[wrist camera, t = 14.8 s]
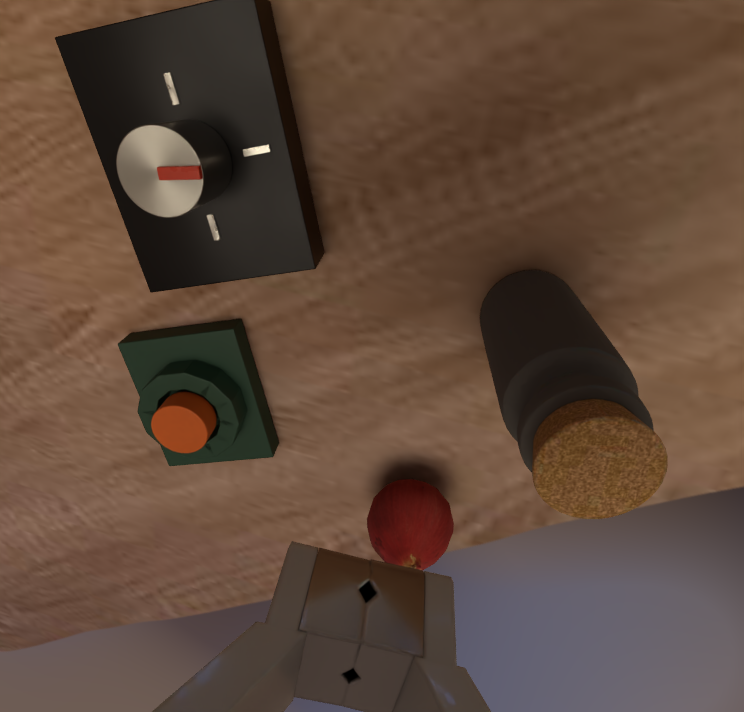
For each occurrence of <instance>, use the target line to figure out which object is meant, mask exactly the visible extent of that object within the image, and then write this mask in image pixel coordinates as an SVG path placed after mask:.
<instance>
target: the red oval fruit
mask: <svg viewBox="0 0 744 712" xmlns="http://www.w3.org/2000/svg"><path fill="white" fill-rule="evenodd" d="M453 525H454V523H453V519H452V514H451V510H450V505H449V503H448V501H447V500H446V499H445V498H444V497H443V496H442V494H441V493H440V492H439V491H438V489H437V488H435V487H433V486H432V485H430V484H428V483H426V482H422V481H418V480H414V479H401V480H397V481H395V482H392V483H390V484H388V485H386V486H385V487H384V488H383V489H382V490H381V491H380V492H379V493H378V494H377V495H376V496H375V497H374V499H373V502H372V505H371V508H370V511H369V514H368V517H367V528H368V532H369V537H370V541H371V544H372V547H373V548H374V549H375V551H376V552H377V553H378V555H379V556H380V557H381V558H382V559H383V560H384V561H385V562H386V563H391V564H395V565H400V566H405V567H410V568H415V569H420V570H424V569H426V568H427V567H429V566H431V565H433V564H434V563H435V562H436V561H437V560H438V559H439V558H440V557H441V556H442V555H443V554H444V552H445V551H446V549H447V547H448V544H449V541H450V538H451V536H452V533H453Z"/></svg>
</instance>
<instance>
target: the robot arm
mask: <svg viewBox="0 0 744 712" xmlns="http://www.w3.org/2000/svg"><path fill="white" fill-rule="evenodd" d="M453 587H454V586H453V580H452V578H451V577H449V576H444V575H439V574H434V573H430V572H426V571H424V572H423V570H420V569H415V568H410V567H405V566H400V565H395V564H391V563H386V562H381V561H376V560H367V559H363V558H359V557H355V556H351V555H347V554H343V553H339V552H335V551H331V550H327V549H323V548H319V550H318V547H314V546H310V545H305V544H301V543H297V542H293V541H292V542H291V544H290V546H289V548H288V551H287V554H286V557H285V560H284V563H283V567H282V570H281V573H280V576H279V580H278V583H277V586H276V589H275V592H274V596H273V599H272V602H271V605H270V609H269V612H268V615H267V618H266V621H265V623H262V622H255V623H254V624H253V625H252V626H251V627H250V628H249V629H247V630H246V631H245V632H244V633H243V634H242V635H240V636H239V637H238V638H237V639H236V640H235V641H233V642H232V643H231V644H230V645H229V646H228V647H226V648H225V649H224V650H223V651H222V652H221V653H219V654H218V655H217V656H216V657H215V658H214V659H213V660H211V661H210V662H209V663H208V664H207V665H206V666H204V667H203V668H202V669H201V670H200V671H199V672H197V673H196V674H195V675H194V676H193V677H192V678H191V679H189V680H188V681H187V682H186V683H185V684H184V685H183V686H181V687H180V688H179V689H178V690H177V691H175V692H174V693H173V694H172V695H171V696H170V697H168V698H167V699H166V700H165V701H164V702H163V703H161V704H160V705H159V706H158V707H157V708H156V709H155V710H153V712H284V711H285V709H286V708H287V707H288V706H289V705H290V703H291V702H292V701H293V698H294V697H297V698H303V699H308V700H313V701H318V702H323V703H329V704H334V705H339V706H344V707H348V708H351V709H355V710H359V711H364V712H491V711H490V709H489V707H488V706H487V704H486V702H485V701H484V699H483V697H482V696H481V694H480V692H479V691H478V689H477V687H476V686H475V684H474V682H473V681H472V679H471V677H470V676H469V674H468V672H467V670H466V669H465V668H463V667H460V666H457V663H456V638H455V612H454V588H453Z"/></svg>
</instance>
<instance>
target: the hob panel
mask: <svg viewBox="0 0 744 712" xmlns="http://www.w3.org/2000/svg"><path fill="white" fill-rule="evenodd" d="M55 40H56V42H57V45H58V48H59V50H60V53H61V56H62V58H63V61H64V63H65V66H66V69H67V71H68V74H69V77H70V79H71V82H72V85H73V87H74V90H75V93H76V95H77V98H78V101H79V103H80V106H81V109H82V111H83V114H84V117H85V119H86V122H87V125H88V127H89V130H90V133H91V135H92V138H93V141H94V143H95V146H96V149H97V151H98V154H99V157H100V159H101V162H102V165H103V167H104V170H105V172H106V175H107V178H108V180H109V183H110V186H111V188H112V191H113V194H114V196H115V199H116V202H117V204H118V207H119V210H120V212H121V215H122V218H123V220H124V223H125V226H126V228H127V231H128V234H129V236H130V239H131V242H132V244H133V247H134V250H135V252H136V255H137V258H138V260H139V263H140V266H141V268H142V271H143V274H144V276H145V279H146V282H147V284H148V287H149V289H150V292H158V291H165V290H172V289H179V288H186V287H192V286H199V285H206V284H213V283H220V282H227V281H234V280H241V279H248V278H255V277H262V276H269V275H276V274H283V273H290V272H297V271H303V270H310V269H315V268H316V267H317V265H318V264H319V262H320V260H321V259H322V257H323V255H324V249H323V245H322V240H321V235H320V231H319V226H318V222H317V217H316V212H315V208H314V203H313V198H312V194H311V189H310V184H309V180H308V175H307V171H306V166H305V161H304V157H303V152H302V147H301V143H300V138H299V134H298V129H297V124H296V120H295V115H294V110H293V106H292V101H291V97H290V92H289V87H288V83H287V78H286V73H285V69H284V64H283V60H282V55H281V50H280V46H279V41H278V36H277V32H276V27H275V23H274V18H273V13H272V9H271V4H270V1H268V0H213V1H209V2H204V3H200V4H196V5H191V6H187V7H183V8H178V9H174V10H170V11H166V12H161V13H157V14H153V15H148V16H144V17H140V18H136V19H131V20H127V21H123V22H118V23H114V24H110V25H105V26H101V27H97V28H93V29H88V30H84V31H80V32H75V33H71V34H67V35H63V36H58V37H55ZM186 119H187V120H196V121H199V122H202V123H204V124H206V125H208V126H210V127H211V128H212V129H214V130H215V131H216V132H217V133H218V134H219V135H220V136H221V138H222V139H223V140H224V142H225V144H226V145H227V147H228V150H229V152H230V155H231V160H232V175H231V179H230V182H229V184H228V186H227V188H226V189H225V191H224V192H223V193H222V194H221V195H219V196H218V197H217V198H215V199H213V200H211V201H209V202H207V203H205V204H203V205H202V206H200V207H198V208H196V209H194V210H192V211H190V212H188V213H186V214H184V215H182V216H179V217H174V218H163V217H158V216H155V215H152V214H150V213H148V212H146V211H144V210H143V209H141V208H140V207H139V206H137V205H136V204H135V203H134V202H133V201H132V200H131V199H130V197H129V196H128V195H127V193H126V192H125V190H124V188H123V187H122V185H121V182H120V180H119V177H118V173H117V166H116V158H117V152H118V148H119V145H120V143H121V141H122V140H123V138H124V137H125V136H126V135H127V134H128V133H129V132H130V131H131V130H133V129H134V128H136V127H139V126H142V125H146V124H154V123H162V122H170V121H178V120H186Z"/></svg>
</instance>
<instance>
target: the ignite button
mask: <svg viewBox="0 0 744 712" xmlns="http://www.w3.org/2000/svg"><path fill="white" fill-rule="evenodd" d="M216 423H217V417H216V413H215V410H214V409H213V407H212V406H211V404H210V403H209V402H208V401H207V400H206V399H204V398H203V397H201V396H199V395H197V394H195V393H191V392H178V393H174V394H172V395H170V396H169V397H168V398H167V399H166V400H165V401H164V402H163V404H162V405H161V406H160V407H159V408H158V410H157V411H156V412H155V413H154V415H153V417H152V421H151V427H152V431H153V434H154V436H155V437H156V439H157V440H158V441H159V442H160V443H161V444H162V445H163V446H165V447H166V448H168V449H170V450H172V451H175V452H179V453H192V452H195V451H198V450H199V449H201V448H202V447H203V446H204V445H205V444H206V442H207V440H208V439H209V437H210V435H211V434H212V432H213V431H214V429H215V427H216Z"/></svg>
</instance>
